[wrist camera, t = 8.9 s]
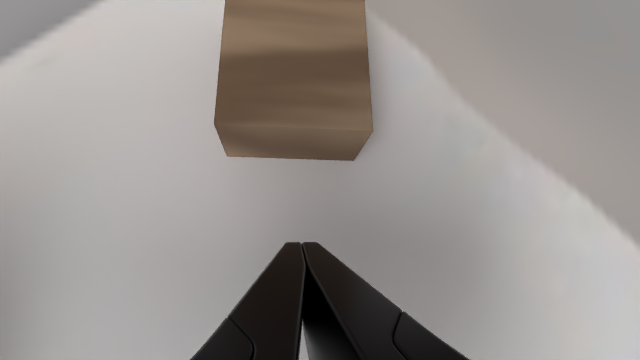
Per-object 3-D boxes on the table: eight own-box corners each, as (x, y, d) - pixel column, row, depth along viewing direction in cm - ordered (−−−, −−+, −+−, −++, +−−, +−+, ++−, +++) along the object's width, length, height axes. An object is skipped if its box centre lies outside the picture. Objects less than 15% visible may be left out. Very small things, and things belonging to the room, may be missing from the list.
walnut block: (373, 131, 15) (362, -23, 17) (214, 123, 14) (228, -37, 17) (353, 161, 19) (347, 31, 21) (227, 157, 18) (237, 22, 20)
